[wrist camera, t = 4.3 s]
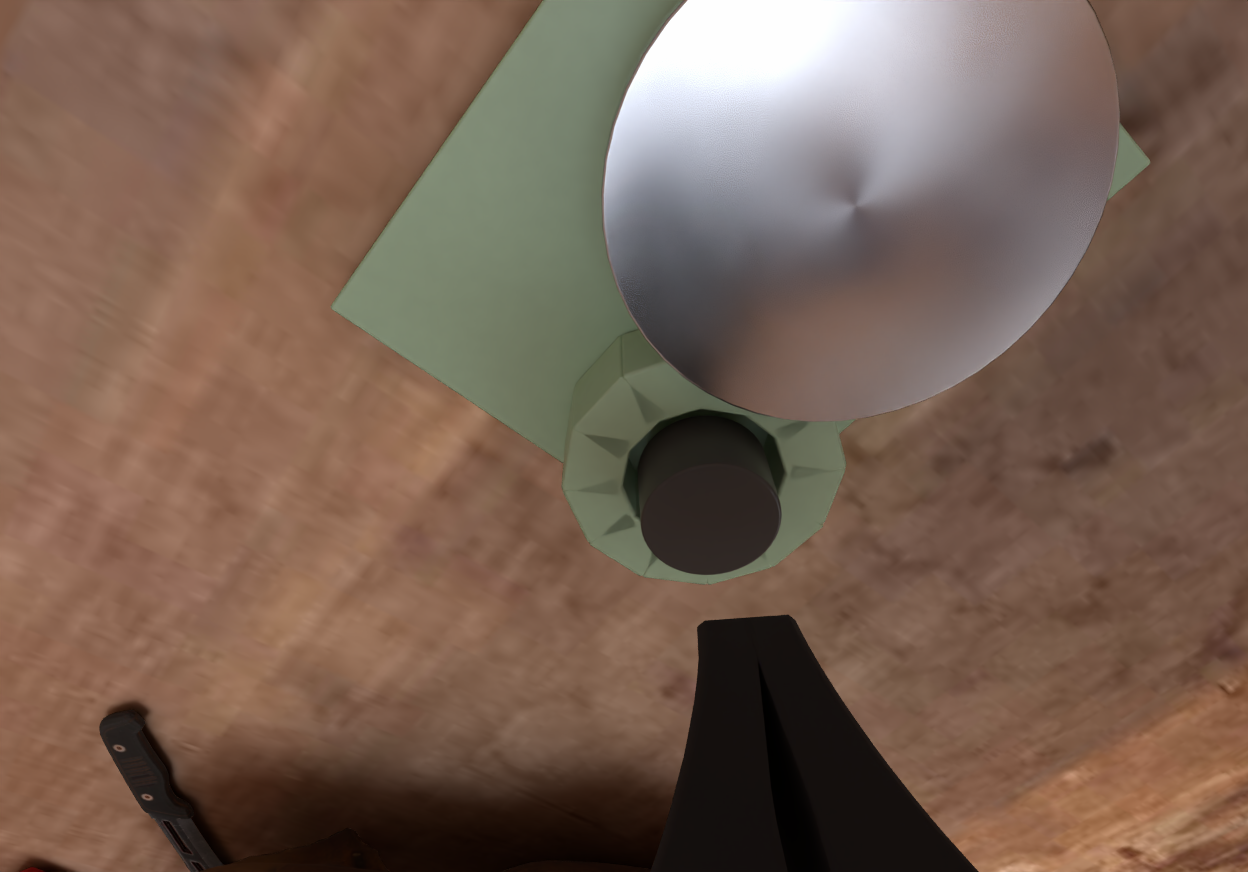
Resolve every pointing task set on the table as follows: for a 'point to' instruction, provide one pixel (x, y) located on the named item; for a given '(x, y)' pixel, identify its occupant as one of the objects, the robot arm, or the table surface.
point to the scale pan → (855, 191)
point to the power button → (707, 496)
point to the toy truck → (32, 870)
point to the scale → (566, 287)
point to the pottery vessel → (375, 860)
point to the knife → (154, 787)
